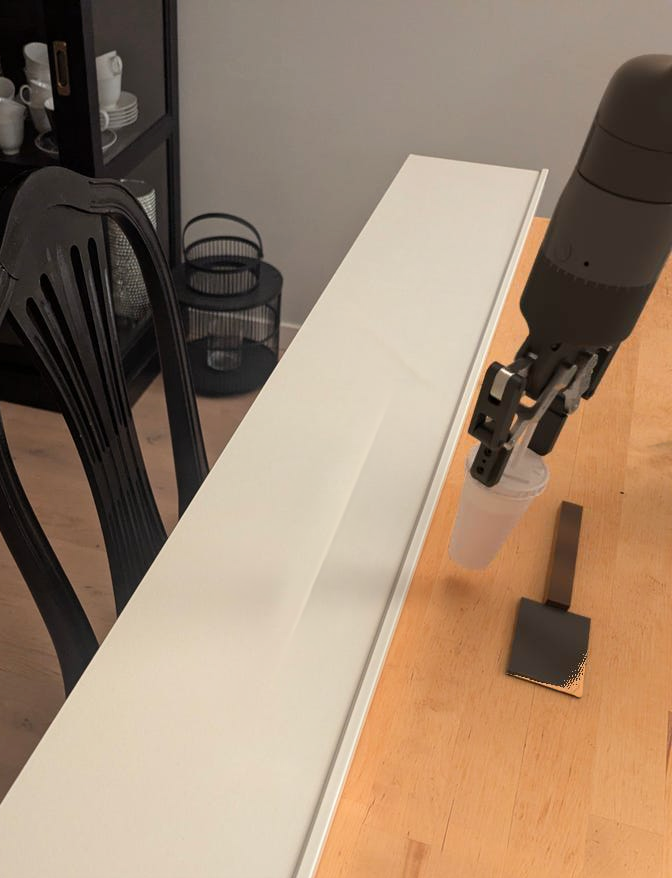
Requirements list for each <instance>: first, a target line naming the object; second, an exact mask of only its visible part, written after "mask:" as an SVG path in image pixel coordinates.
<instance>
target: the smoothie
mask: <svg viewBox="0 0 672 878" xmlns="http://www.w3.org/2000/svg"><path fill="white" fill-rule="evenodd" d="M537 423H538V421H537V422H534V423H529V424H528V426H527V427H526V429H525V430H524V433H523V436H522V439H521V441H520V443H516V444H515V447H514V449H513V451H512V453H511V456H510V458H509V460H508V463H507V465H506V467H505V470H504V472H503V474H502V477H501V479H500V481H499V483H498V484H496V485H495V486H493V487H491V488H488V487H486V486H485V485H483V484H482V483H480V482H479V481H477V480H476V479H474V478H473V477H472V476H471V474H470V469H471V467H472V464H473V462H474V459H475V457H476V454H477V452H478V449H479V447H480V444H481V442H480V441H479V442H478V443H476V444H474V445H473V446H472V447H471V448H470V450H469V451H468V453H467V456H466V458H465V460H464V462H463V469H464V472H465V475H464V479H463V483H462V488H461V493H460V497H459V501H458V505H457V509H456V510H457V511H456V514H455V518H454V523H453V527H452V532H451V536H450V540H449V545H448V549H447V554H448V556H449V558H450V559H451V561H452V562H453V563H454V564H455V565H456V566H458V567H461V568H462V569H465V570H469V571H475V572H476V571H478V572H479V571H483V570H485V569H488V568H489V567H490V565H491V564H492V563H493V561H494V559H495V558H496V556H497V555H498V553H499V552H500V551H501V549H502V547H503V546H504V544H505V542H506V541H507V540H508V539H509V537H510V535H512V532H513V531H514V529H515V528H516V526H517V525H518V523H519V522H520V521H521V519H522V517H523V516H524V514H525V513H526V511H528V509H529V507H530V505H531V504H532V502H533V501H534V499H535V498H536V497H539V496H540V495H541V494H542V493H544V492H545V489H546V487H547V484H548V482H549V479H550V475H551V474H550V468H549V466H548V464H547V462H546V460H544V459H543V458H542V456H540V455H538V454H537V453H535V452H534V451H532V450H531V449H529V448H527V446H528V444H529V441H530V439H531V437H532V435H533V432H534V430H535V428H536V425H537Z"/></svg>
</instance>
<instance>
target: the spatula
mask: <svg viewBox="0 0 672 878" xmlns="http://www.w3.org/2000/svg"><path fill="white" fill-rule="evenodd" d="M556 513H557V514H556V519H555V524H554V531H553V537H552V543H551V550H550V557H549V563H548V567H547V568H548V569H547V576H546V582H545V588H544V593H543V600H542V602H540V601H538V600H537V601H536V600H534V599H531V598H527V597H524V596H521V597H520V598H519V601H518V605H517V611H516V617H515V621H514V628H513V633H512V637H511V644H510V649H509V653H508V659H507V664H508V666H507V665H506V670H507V671H506V670H505V674H506V673H508V674H512V675H518V676H521V677H525V678H529V679H530V680H534V681H537V682H541V683H546V684H551V685H555V686H560V687H563V688H564V687H565V686H566V685H567V683H568V682H569V680H570V679H571V680H570V683H571V684H572V683H573V682H574V680H575V678H576V677H577V675H578V673H579V672H580V670H581V668H582V667H580V665H581V664H582V662H583V664H584V662H585V660H586V658H587V659H588V655H587V656H585V655H586V653H587V650H589V641H590V633H591V622H592V618H590V617H588V616H585V615H582V614H579V613H575V612H572V611H569V610H570V608H571V604H572V597H573V590H574V582H575V574H576V566H577V558H578V552H579V551H578V550H579V543H580V537H581V536H580V535H581V528H582V521H583V520H582V519H583V513H584V506H583V505H580V504H578V503H574V502H571V501H567V500H564V499H562V500H561V502H560V504H559V506H558V508H557V512H556ZM583 654H584V655H583ZM587 654H588V653H587ZM584 657H586V658H584ZM583 659H584V661H583ZM579 663H580V664H579ZM583 664H582V666H583ZM578 665H579V666H578ZM585 665H586V666H587V663H586V664H585ZM579 667H580V669H579ZM583 668H584V667H583ZM578 669H579V671H578ZM575 670H576V671H575ZM572 671H573V672H572ZM582 671H583V669H582ZM582 671H581V672H582ZM508 674H507V675H508ZM575 674H576V676H575ZM580 674H581V673H579V676H580ZM572 675H573V677H572ZM582 675H583V673H582ZM569 676H570V677H569ZM579 676H578V677H579ZM573 678H574V679H573ZM572 679H573V682H571V681H572ZM577 679H578V678H576V681H577ZM564 680H565V681H564ZM567 680H568V681H567ZM579 680H580V678H579ZM566 682H567V683H566ZM570 683H568V686H569V684H570ZM564 684H565V686H564ZM561 685H562V686H561ZM573 685H574V684H573ZM576 685H577V684H576ZM568 686H567V687H568ZM570 686H571V685H570ZM569 688H570V687H569ZM569 688H568V689H569Z"/></svg>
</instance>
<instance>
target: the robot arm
mask: <svg viewBox="0 0 672 878" xmlns="http://www.w3.org/2000/svg"><path fill="white" fill-rule="evenodd" d="M671 255H672V54H667V53H665V54H664V53H648V54H642V55H637V56H635V57H632V58H630V59H627V60H626V61H624V62H623V63H621V65H620V66H619V67H618V68H616V70H615V71H614V72H613V74H612V76H611V77H610V79H609V81H608V84H607V86H606V88H605V90H604V92H603V94H602V96H601V98H600V101H599V104H598V106H597V108H596V111H595V114H594V116H593V119H592V122H591V124H590V127H589V129H588V132H587V134H586V137H585V140H584V143H583V145H582V148H581V150H580V152H579V155H578V157H577V161H576V164H575V166H574V168H573V170H572V172H571V175H570V176H569V178H568V180H567V182H566V184H565V185H564V187H563V189H562V191H561V193H560V195H559V197H558V199H557V202H556V204H555V206H554V209H553V211H552V214H551V216H550V219H549V222H548V224H547V227H546V229H545V233H544V235H543V238H542V241H541V242H540V245H539V248H538V250H537V254H536V255H535V258H534V261H533V264H532V267H531V268H530V272H529V274H528V276H527V279H526V282H525V285H524V287H523V290H522V293H521V295H520V297H519V304H518V305H519V311H520V313H521V315H522V317H523V319H524V321H525V323H526V325H527V328H528V334H527V336H526V337H525V339H524V341H523V342H522V343H521V345H520V346H519V348H518V350H517V351H516V352H515V354H514V356H513V362H511V363H509V364H508V365H507V366H506V365H504V364H502V363H501V362H499V361H498V360H494V361H493V362H492V363H491V364H490V365H489V366H488V367H487V369H486V370H485V374H484V375H483V376H484V377H483V380H482V383H481V386H480V389H479V391H478V392H479V393H478V396H477V399H476V403H475V405H474V409H473V412H472V415H471V418H470V422H469V424H468V428H467V435H469V436H471V437H473V438H474V439H476V440H477V441H479V443H480V442H481V444H480V447H479V449H478V452H477V454H476V457H475V459H474V462H473V464H472V467H471V469H470V474H471V476H472V477H473V478H474V479H476V480H477V481H479V482H480V483H482V484H483V485H485V486H486V487H488V488H491V487H493V486H495V485H496V484H498V483H499V481H500V479H501V477H502V474H503V472H504V470H505V467H506V465H507V463H508V460H509V458H510V456H511V453H512V451H513V449H514V447H515V444H516V443H517V442H518V441H519V439H520V438H521V436H522V435H523V434H524V433H525V431H526V429H527V427H528V424H529V423H534V422H537V421H538V423H537V425H536V428H535V430H534V432H533V435H532V437H531V439H530V441H529V444H528V446H527V448H529V449H531V450H532V451H534V452H535V453H537V454H538V455H539V456H540V457H546V456H547V455H549V454H551V453H552V452H553V449H554V447H555V445H556V443H557V441H558V439H559V437H560V434H561V433H562V430H563V428H564V426H565V424H566V422H567V420H568V417H569V416H571V415H573V414H574V413H575V412H576V411H577V410H578V408H579V406H580V405H581V399H583V400H584V401H589V400H590V399H591V398H592V397H593V396H594V395H595V393H596V390H597V389H598V387H599V385H600V383H601V381H602V379H603V378H604V376H605V374H606V372H607V370H608V368H609V366H610V365H611V363H612V361H613V359H614V357H615V355H616V353H617V352H618V350H619V347H620V346H621V344H622V343H623V342H624V341H626V340H627V339H628V338H629V337H630V336H631V335H632V333H633V331H634V329H635V327H636V325H637V323H638V321H639V319H640V317H641V315H642V313H643V311H644V309H645V307H646V305H647V303H648V301H649V298H650V297H651V295H652V292H653V291H654V289H655V287H656V285H657V282H658V280H659V279H660V276H661V274H662V273H663V270H664V268H665V266H666V265H667V262H668V261H669V258H670V256H671ZM524 397H527V398H528V399H530V400H532V401H534V402H535V403H533V405H532V406H528V405H527V404H525V403H523V402H522V401H521V400H522V398H524ZM515 417H517V418H516V420H515V422H514V419H515ZM513 422H514V423H513ZM517 444H518V443H517Z"/></svg>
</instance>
